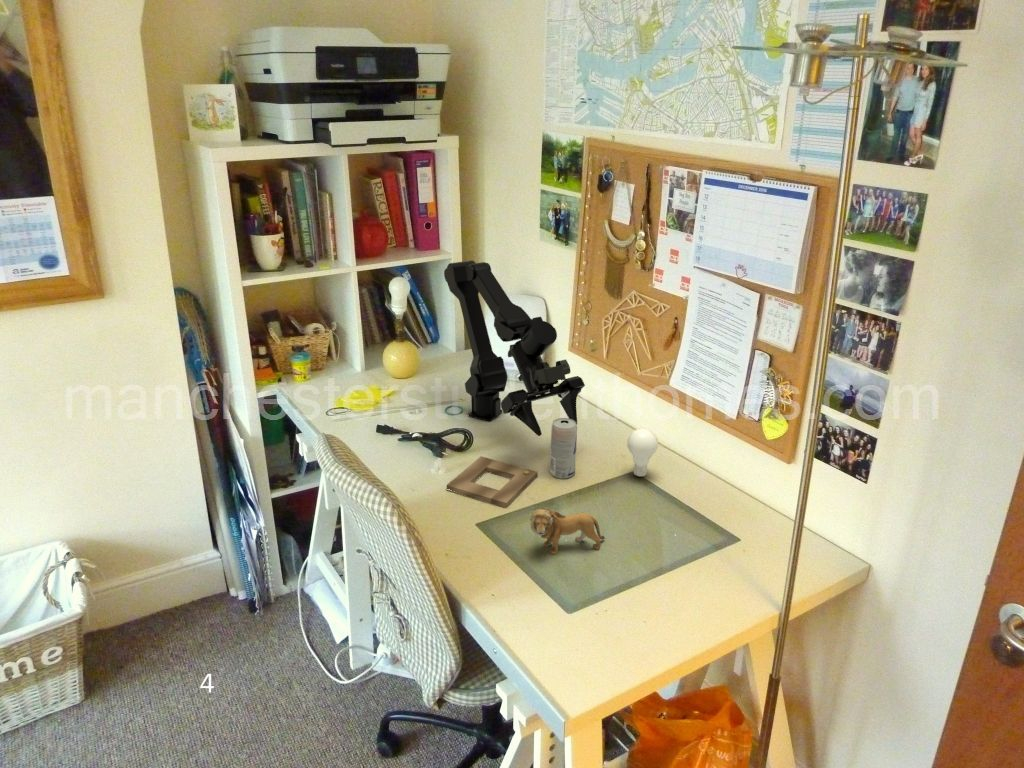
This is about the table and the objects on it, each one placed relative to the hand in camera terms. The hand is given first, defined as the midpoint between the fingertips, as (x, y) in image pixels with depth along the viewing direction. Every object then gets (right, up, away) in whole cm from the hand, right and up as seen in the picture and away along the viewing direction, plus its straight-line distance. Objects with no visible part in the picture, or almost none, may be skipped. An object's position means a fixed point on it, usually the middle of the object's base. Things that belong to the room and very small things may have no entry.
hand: (558, 430), depth 161 cm
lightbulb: (+18, -10, +1) cm, 20 cm away
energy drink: (+1, -10, +2) cm, 10 cm away
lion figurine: (0, -20, -23) cm, 30 cm away
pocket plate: (-14, -11, -2) cm, 18 cm away
